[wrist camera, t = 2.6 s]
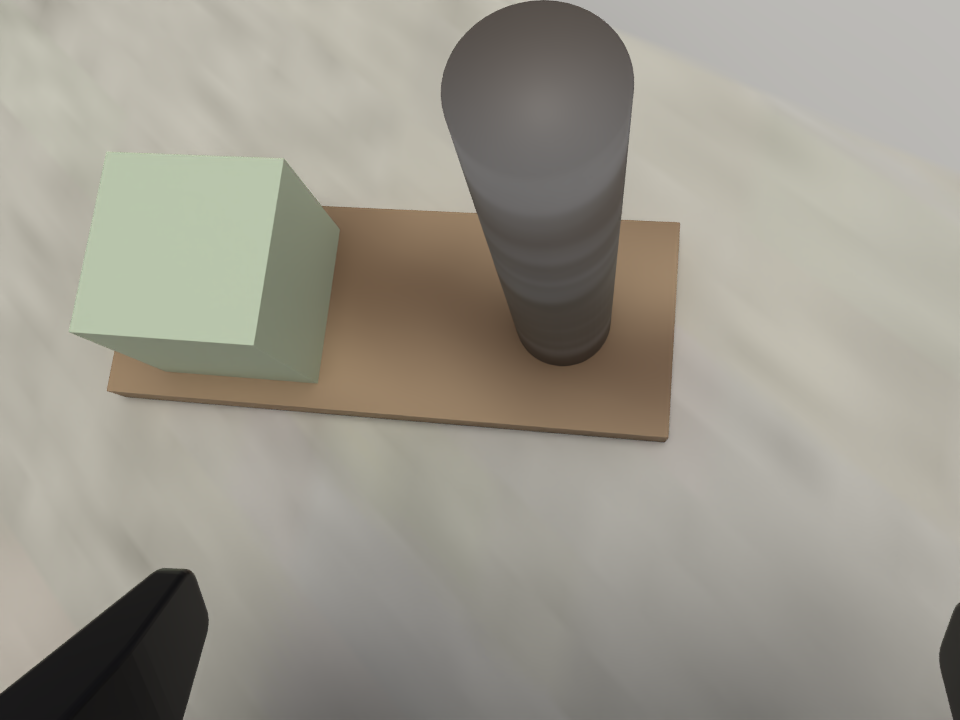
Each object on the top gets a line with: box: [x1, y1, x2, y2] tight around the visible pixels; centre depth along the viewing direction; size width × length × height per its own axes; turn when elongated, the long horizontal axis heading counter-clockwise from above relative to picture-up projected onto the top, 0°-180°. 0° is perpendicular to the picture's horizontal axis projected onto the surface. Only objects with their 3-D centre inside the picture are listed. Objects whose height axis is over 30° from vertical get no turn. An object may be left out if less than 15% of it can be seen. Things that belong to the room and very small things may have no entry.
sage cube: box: [69, 152, 340, 384], centre depth 22 cm, size 5×5×5 cm
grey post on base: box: [107, 0, 680, 442], centre depth 18 cm, size 6×16×13 cm, turn 84°
